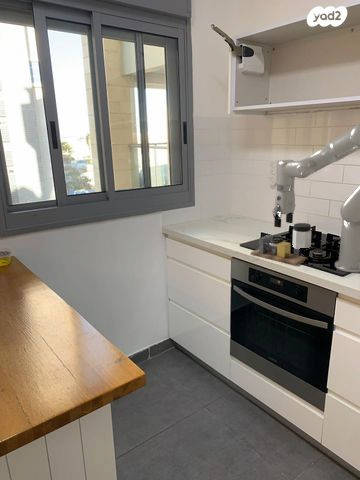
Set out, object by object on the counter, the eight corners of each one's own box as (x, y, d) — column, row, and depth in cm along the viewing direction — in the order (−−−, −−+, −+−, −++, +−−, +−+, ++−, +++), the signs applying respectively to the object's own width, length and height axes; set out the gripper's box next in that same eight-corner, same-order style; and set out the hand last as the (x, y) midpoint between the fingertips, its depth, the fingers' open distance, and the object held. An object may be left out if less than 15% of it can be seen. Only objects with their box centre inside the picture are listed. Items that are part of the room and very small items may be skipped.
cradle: (278, 256, 173) (279, 247, 172) (275, 257, 171) (275, 249, 170) (275, 255, 174) (275, 246, 173) (271, 256, 172) (271, 248, 171)
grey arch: (272, 252, 178) (272, 235, 176) (263, 256, 173) (263, 239, 171) (268, 251, 180) (268, 234, 177) (258, 255, 175) (259, 238, 172)
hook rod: (290, 255, 169) (290, 243, 167) (284, 257, 166) (284, 245, 164) (262, 248, 181) (262, 237, 179) (256, 251, 177) (256, 239, 176)
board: (307, 260, 166) (307, 257, 165) (296, 266, 159) (296, 263, 159) (262, 249, 184) (262, 247, 183) (250, 254, 177) (250, 252, 177)
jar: (302, 251, 178) (303, 228, 174) (289, 247, 185) (290, 225, 181) (313, 247, 183) (314, 224, 179) (300, 243, 189) (301, 222, 186)
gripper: (282, 191, 152) (280, 230, 157) (302, 186, 163) (300, 222, 168) (267, 190, 157) (265, 227, 162) (288, 184, 168) (286, 219, 173)
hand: (283, 224), depth 165 cm, fingers open, 9 cm apart
